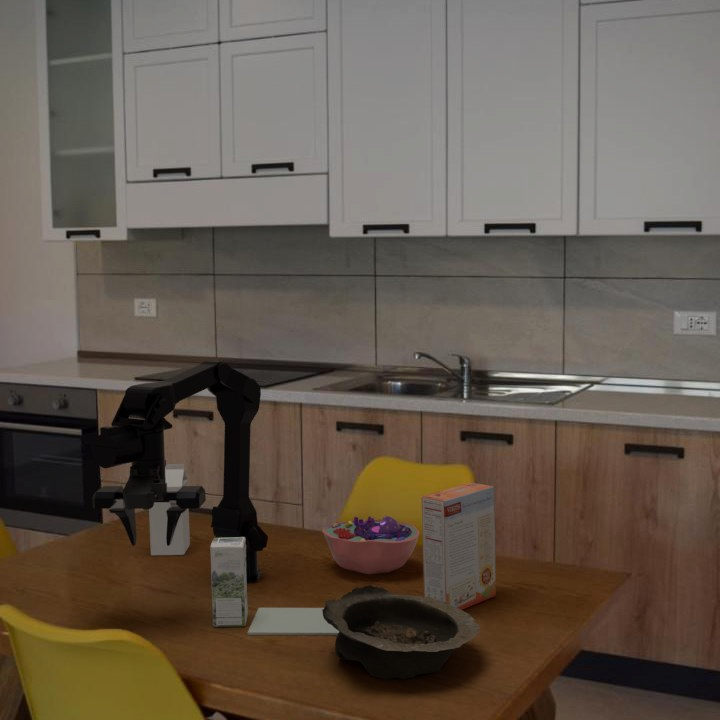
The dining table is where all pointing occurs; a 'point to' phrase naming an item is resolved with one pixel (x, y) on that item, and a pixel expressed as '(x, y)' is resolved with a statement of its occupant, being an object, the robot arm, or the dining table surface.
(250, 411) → the robot arm
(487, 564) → the cracker box
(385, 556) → the cell model
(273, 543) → the dining table surface
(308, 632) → the mat
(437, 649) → the stone bowl
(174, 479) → the milk carton
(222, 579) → the syrup box
